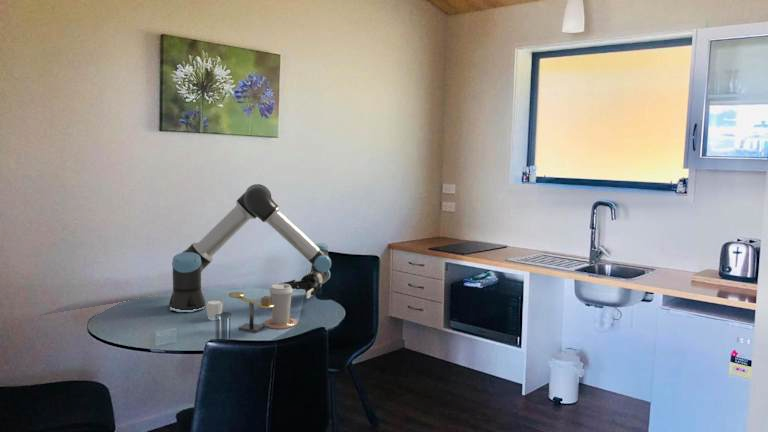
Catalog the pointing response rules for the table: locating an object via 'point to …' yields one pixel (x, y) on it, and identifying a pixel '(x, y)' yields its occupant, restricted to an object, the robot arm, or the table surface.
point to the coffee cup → (281, 302)
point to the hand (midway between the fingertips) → (292, 293)
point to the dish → (272, 325)
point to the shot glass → (214, 308)
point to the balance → (265, 304)
